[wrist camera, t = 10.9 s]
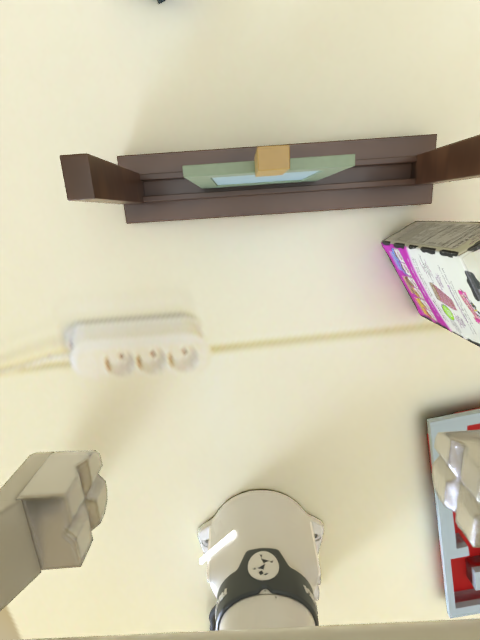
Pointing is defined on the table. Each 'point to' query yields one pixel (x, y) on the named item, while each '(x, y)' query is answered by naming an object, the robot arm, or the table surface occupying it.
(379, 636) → the robot arm
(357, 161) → the window frame
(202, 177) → the window pane
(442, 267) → the candy bar box
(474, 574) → the maze game
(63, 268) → the table surface
